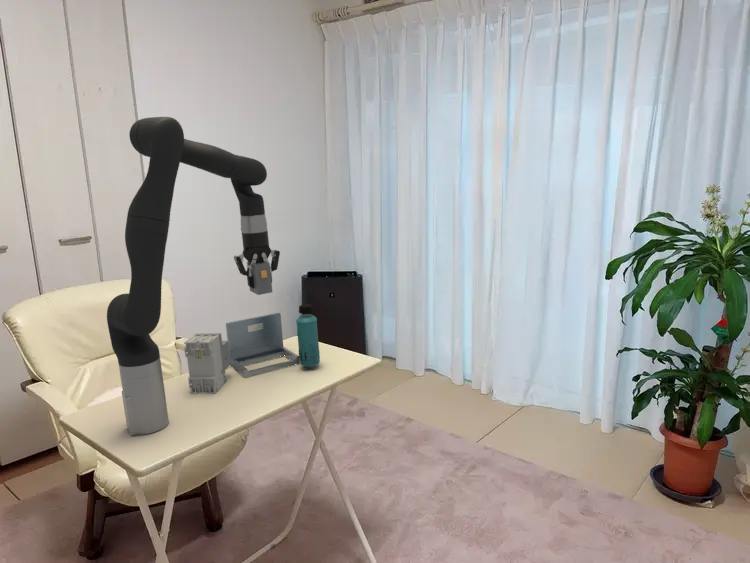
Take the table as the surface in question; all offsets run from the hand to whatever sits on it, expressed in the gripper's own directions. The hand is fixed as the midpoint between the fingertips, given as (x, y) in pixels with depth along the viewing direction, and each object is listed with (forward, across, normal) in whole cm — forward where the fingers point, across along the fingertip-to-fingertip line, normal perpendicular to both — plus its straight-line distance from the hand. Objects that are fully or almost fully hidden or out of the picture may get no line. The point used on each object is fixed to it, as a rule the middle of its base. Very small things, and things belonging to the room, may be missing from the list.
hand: (260, 286), depth 163 cm
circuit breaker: (+26, -18, -1) cm, 32 cm away
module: (+2, 0, 0) cm, 2 cm away
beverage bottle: (+27, +10, -8) cm, 30 cm away
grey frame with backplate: (+26, 0, +3) cm, 26 cm away
